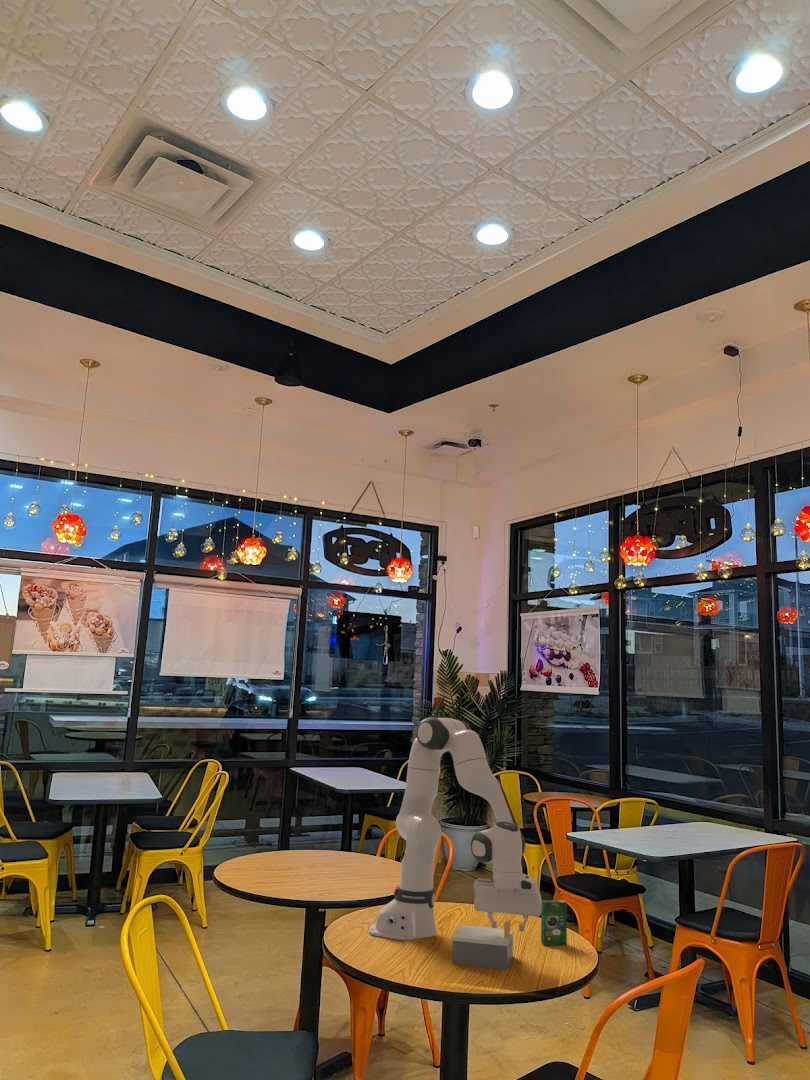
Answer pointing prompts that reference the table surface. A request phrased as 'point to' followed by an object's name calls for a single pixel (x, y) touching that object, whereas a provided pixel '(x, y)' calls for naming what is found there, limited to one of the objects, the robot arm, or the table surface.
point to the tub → (482, 954)
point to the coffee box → (554, 923)
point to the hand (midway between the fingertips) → (508, 929)
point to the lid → (484, 934)
